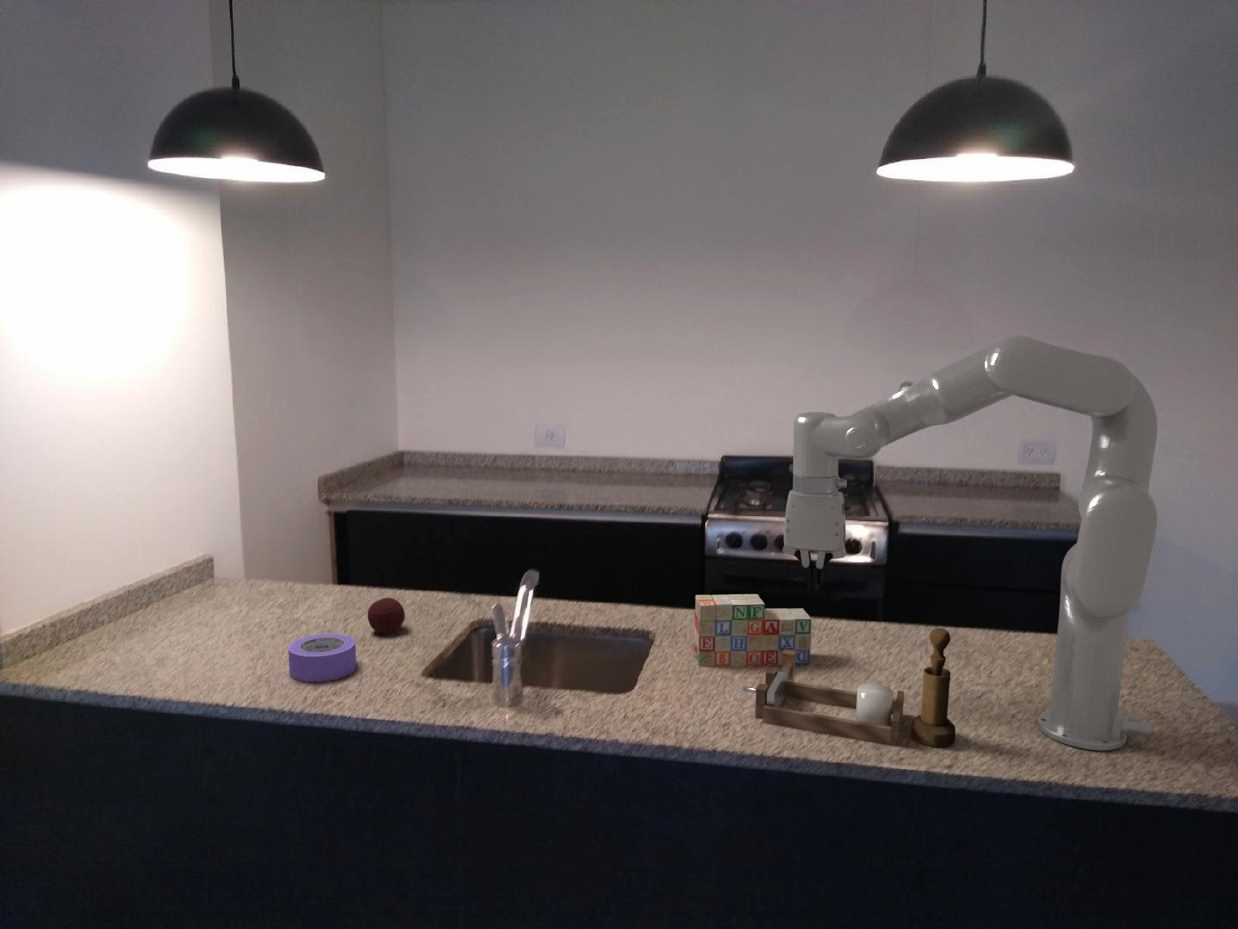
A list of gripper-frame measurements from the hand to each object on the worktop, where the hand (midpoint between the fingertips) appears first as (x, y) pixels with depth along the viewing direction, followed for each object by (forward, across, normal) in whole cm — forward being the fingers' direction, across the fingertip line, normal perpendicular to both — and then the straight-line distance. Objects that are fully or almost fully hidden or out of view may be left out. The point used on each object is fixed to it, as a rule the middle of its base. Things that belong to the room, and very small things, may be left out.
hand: (813, 588), depth 157 cm
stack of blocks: (+18, +13, -9) cm, 24 cm away
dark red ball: (+16, +86, +6) cm, 88 cm away
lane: (+19, -5, +10) cm, 22 cm away
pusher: (+18, +7, +7) cm, 21 cm away
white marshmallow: (+19, -12, +10) cm, 25 cm away
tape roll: (+16, +85, +26) cm, 91 cm away
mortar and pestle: (+19, -21, +12) cm, 31 cm away
